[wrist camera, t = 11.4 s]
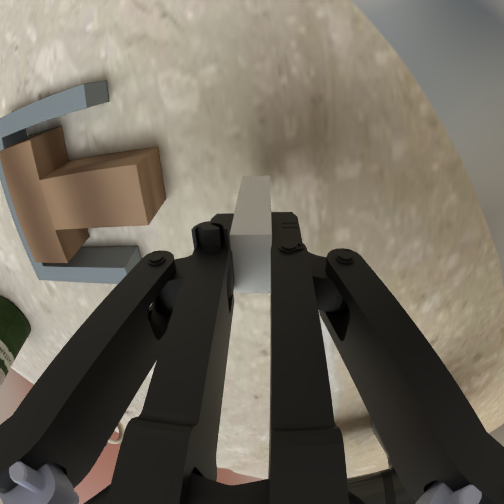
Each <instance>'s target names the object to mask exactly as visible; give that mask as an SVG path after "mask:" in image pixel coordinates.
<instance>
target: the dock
mask: <svg viewBox="0 0 504 504" xmlns="http://www.w3.org/2000/svg"><path fill="white" fill-rule="evenodd" d="M105 102H109V98H108V90H107V81H100V82H94V83H87V84H83V85H80V86H77V87H74V88H71V89H68V90H65V91H62V92H59V93H57V94H54V95H51V96H49V97H46V98H44V99H41V100H39V101H36V102H34V103H32V104H29V105H27V106H25V107H22V108H20V109H18V110H16V111H14V112H12V113H10V114H8V115H6V116H4V117H2V118H0V151H1V150H3V149H5V148H7V147H9V146H11V145H13V144H15V143H17V142H19V141H21V140H23V139H25V138H27V137H26V131H25V128H27V127H30V126H32V125H35V124H38V123H41V122H43V121H46V120H49V119H52V118H55V117H58V116H61V115H64V114H68V113H71V112H74V111H78V110H81V109H85V108H88V107H92V106H95V105H98V104H102V103H105ZM0 180H1V184H2V187H3V190H4V194H5V197H6V200H7V203H8V206H9V209H10V212H11V215H12V218H13V220H14V223H15V226H16V228H17V231H18V234H19V236H20V239H21V241H22V243H23V246H24V248H25V251H26V253H27V255H28V257H29V260H30V262H31V264H32V266H33V268H34V271H35V273H36V275H37V277H38V279H39V280H51V281H68V282H87V283H109V284H119V283H120V281H121V280H122V279H123V278H124V277H125V276H126V275H127V274H128V273H129V272H130V271H131V270H132V269H133V268H134V266H135V265H136V264H137V263H138V262H139V261H140V260H141V256H140V252H139V249H138V246H126V247H80V249H79V250H78V251H77V252H76V254H75V255H74V256H73V257H72V259H71V260H70V261H69V262H68V263H36V262H35V260H34V258H33V255H32V253H31V251H30V248H29V246H28V244H27V241H26V239H25V236H24V233H23V231H22V228H21V226H20V223H19V220H18V217H17V215H16V212H15V209H14V206H13V203H12V200H11V196H10V193H9V190H8V187H7V183H6V180H5V176H4V172H3V168H2V164H1V160H0Z"/></svg>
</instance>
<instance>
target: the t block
mask: <svg viewBox="0 0 504 504" xmlns="http://www.w3.org/2000/svg"><path fill="white" fill-rule="evenodd" d="M0 160H1V164H2V168H3V172H4V176H5V180H6V183H7V187H8V190H9V193H10V196H11V200H12V203H13V206H14V209H15V212H16V215H17V217H18V220H19V223H20V226H21V228H22V231H23V233H24V236H25V239H26V241H27V244H28V246H29V248H30V251H31V253H32V255H33V258H34V260H35V262H36V263H68V262H69V261H70V260H71V259H72V257H73V256H74V255H75V254H76V252H77V251H78V250H79V249H80V247H81V246H82V245H83V244H84V243H85V241H86V240H87V239H88V238H89V237H90V236H89V233H88V230H87V228H98V227H118V226H141V225H149V223H150V222H151V220H152V219H153V217H154V216H155V214H156V213H157V212H158V210H159V209H160V207H161V206H162V204H163V203H164V201H165V200H166V195H165V189H164V183H163V177H162V170H161V164H160V157H159V150H158V147H155V148H146V149H138V150H131V151H124V152H117V153H111V154H105V155H99V156H93V157H88V158H83V159H78V160H73V161H69V160H68V155H67V150H66V145H65V140H64V135H63V129H62V126H60V127H57V128H54V129H51V130H47V131H44V132H41V133H38V134H35V135H32V136H29V137H27V138H25V139H23V140H21V141H19V142H17V143H15V144H13V145H11V146H9V147H7V148H5V149H3V150H1V151H0Z"/></svg>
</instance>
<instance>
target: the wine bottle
mask: <svg viewBox="0 0 504 504" xmlns="http://www.w3.org/2000/svg"><path fill="white" fill-rule="evenodd" d="M29 334H30V326H29V323H28V321H27V319H26V318H25V316H24V315H23V313H22V312H21V311H20V310H19V309H18V308H17V307H16V306H15V305H14V304H13V303H12V302H10V301H9V300H7V299H5V298H3V297H0V387H1V385H2V383H3V381H4V379H5V377H6V375H7V373H8V371H9V369H10V367H11V366H12V364H13V362H14V360H15V358H16V356H17V355H18V353H19V351H20V349H21V347H22V346H23V344H24V342H25V341H26V339H27V337H28V336H29Z"/></svg>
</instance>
